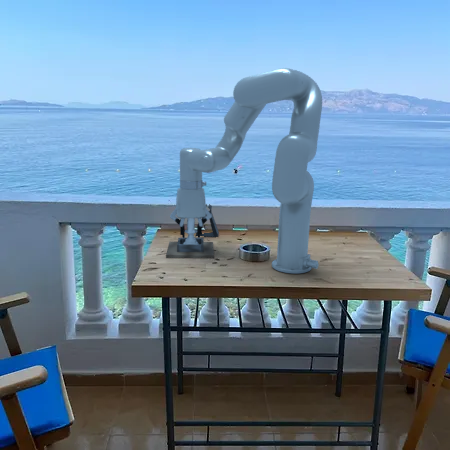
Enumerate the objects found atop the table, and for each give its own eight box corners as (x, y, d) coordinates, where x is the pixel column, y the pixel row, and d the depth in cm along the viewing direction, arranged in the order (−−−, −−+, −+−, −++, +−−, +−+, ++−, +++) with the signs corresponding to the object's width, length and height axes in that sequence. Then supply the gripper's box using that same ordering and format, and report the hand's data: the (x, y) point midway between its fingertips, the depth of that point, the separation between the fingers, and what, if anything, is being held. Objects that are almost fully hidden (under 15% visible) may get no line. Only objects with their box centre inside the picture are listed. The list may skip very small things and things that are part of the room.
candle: (191, 241, 164) (191, 208, 161) (201, 244, 160) (201, 210, 157) (180, 244, 160) (179, 210, 157) (190, 247, 156) (190, 213, 153)
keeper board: (212, 244, 169) (213, 235, 168) (213, 258, 153) (214, 248, 152) (169, 244, 168) (169, 234, 167) (165, 258, 153) (165, 247, 152)
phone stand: (218, 233, 184) (219, 204, 181) (218, 237, 178) (218, 207, 175) (196, 232, 184) (196, 203, 181) (195, 236, 178) (195, 206, 175)
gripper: (214, 183, 160) (213, 233, 164) (165, 183, 157) (166, 234, 162) (217, 186, 152) (216, 239, 157) (165, 187, 150) (166, 240, 155)
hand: (190, 236), depth 159 cm, fingers closed on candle, 4 cm apart
